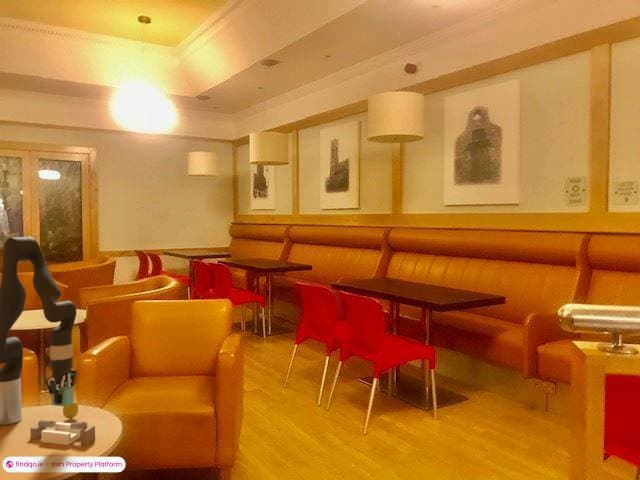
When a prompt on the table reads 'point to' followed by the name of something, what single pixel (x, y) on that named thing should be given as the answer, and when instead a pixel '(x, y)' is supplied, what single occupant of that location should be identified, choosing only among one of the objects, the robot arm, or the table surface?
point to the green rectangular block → (65, 396)
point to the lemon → (70, 410)
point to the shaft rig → (63, 432)
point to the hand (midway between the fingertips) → (62, 401)
